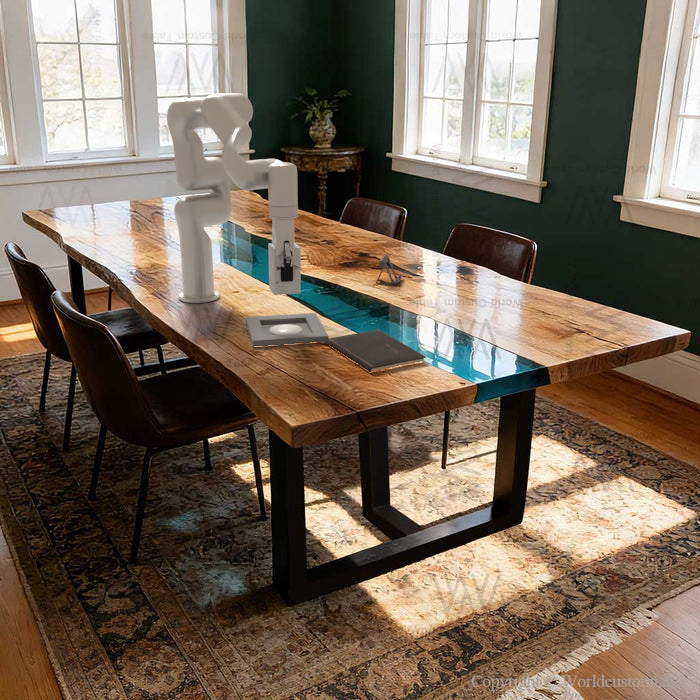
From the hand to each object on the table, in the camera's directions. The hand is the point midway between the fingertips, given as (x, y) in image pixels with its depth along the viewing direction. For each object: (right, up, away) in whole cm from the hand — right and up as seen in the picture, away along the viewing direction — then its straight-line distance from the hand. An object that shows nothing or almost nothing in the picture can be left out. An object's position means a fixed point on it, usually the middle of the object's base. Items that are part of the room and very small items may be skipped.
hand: (284, 276), depth 212 cm
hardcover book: (+24, -21, -8) cm, 33 cm away
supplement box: (0, -4, +1) cm, 4 cm away
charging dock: (0, -15, +6) cm, 16 cm away
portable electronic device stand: (+30, +3, +55) cm, 63 cm away
